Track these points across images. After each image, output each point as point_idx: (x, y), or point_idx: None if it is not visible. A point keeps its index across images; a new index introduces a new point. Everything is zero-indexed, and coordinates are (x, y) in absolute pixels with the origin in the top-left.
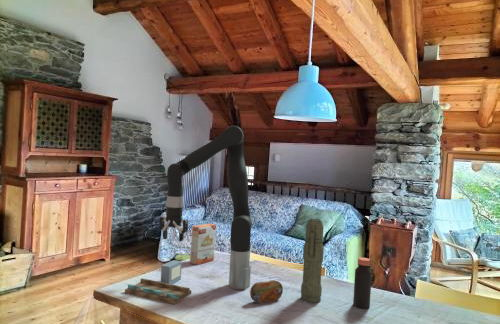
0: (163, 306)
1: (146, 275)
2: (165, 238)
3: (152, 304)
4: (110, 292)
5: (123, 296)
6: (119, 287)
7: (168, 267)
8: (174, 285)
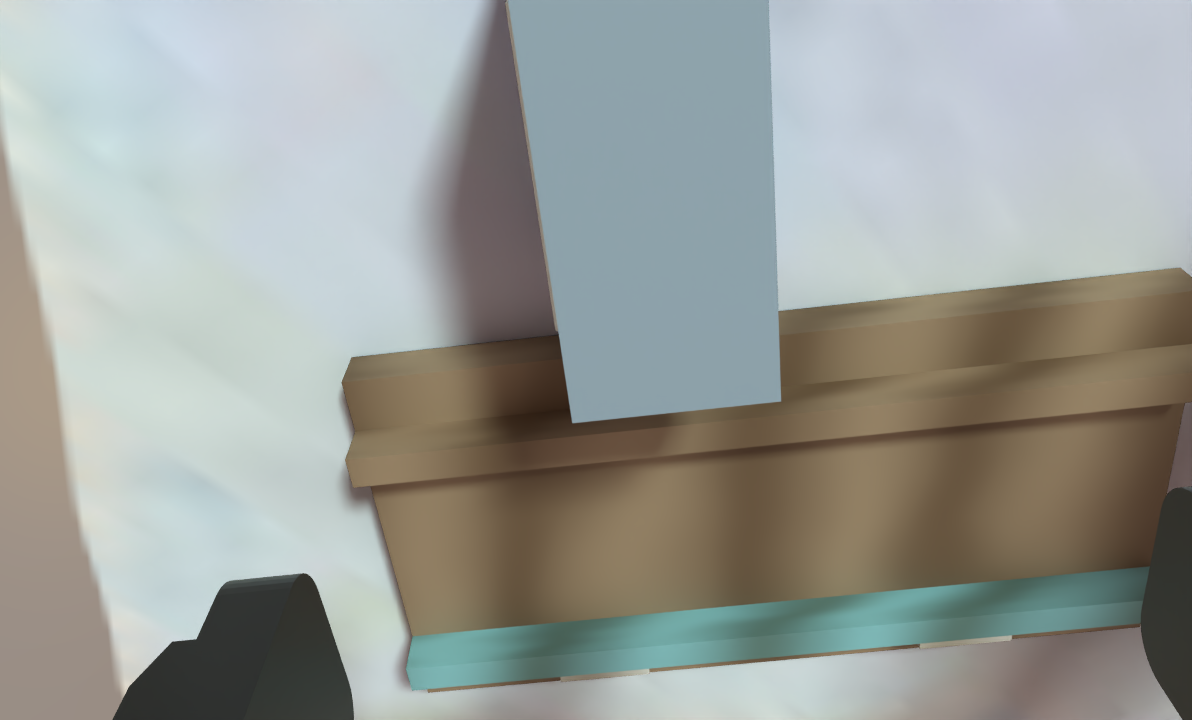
0: (1029, 674)
1: (45, 67)
2: (338, 688)
3: (898, 694)
4: None
5: (501, 713)
6: None
7: (746, 395)
8: (960, 412)
